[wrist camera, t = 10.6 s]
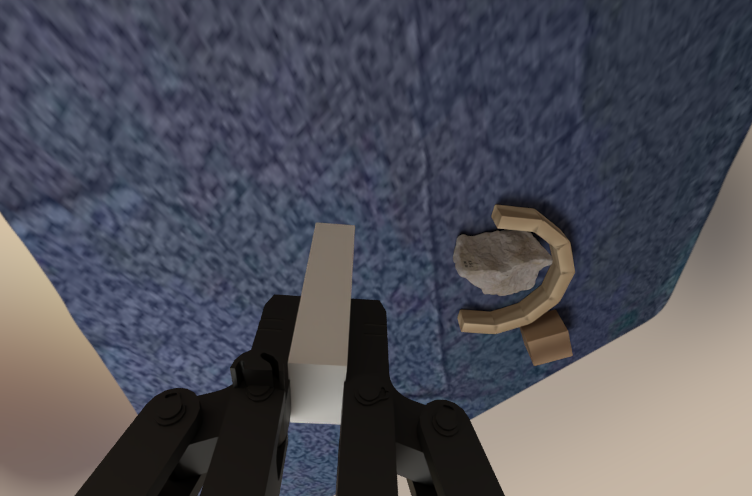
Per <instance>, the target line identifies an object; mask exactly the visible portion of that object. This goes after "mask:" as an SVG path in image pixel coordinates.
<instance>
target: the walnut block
mask: <svg viewBox="0 0 752 496" xmlns="http://www.w3.org/2000/svg"><path fill="white" fill-rule="evenodd" d="M520 330H521V333H522V337H523V340H524V344H525V346H526V348H527V351H528V353H529V355H530V358H531V360H532V362H533V364H534V366H537V365H540V364H544V363H548V362H551V361H555V360H559V359H562V358H566V357H570V356H573V355H572V349H571V344H570V339H569V334H568V330H567V328H566V327H565V325H564V323H563V321H562V320H561V318H560V316H559V315H558V313H557V311H556V309H555V310H551V311H548V312H545V313H544V314H543V315H541V316H540V317H539V318H537V319H536V320H535V321H533V322H532V323H530V324H528V325H524V326H521V327H520Z"/></svg>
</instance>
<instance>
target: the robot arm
mask: <svg viewBox="0 0 752 496" xmlns="http://www.w3.org/2000/svg"><path fill="white" fill-rule="evenodd" d="M354 232H355V226H353V225H340V224H327V223H316V225H315V230H314V235H313V240H312V245H311V250H310V255H309V260H308V265H307V270H306V275H305V280H304V285H303V289H302V294H301V296H290V295H275V294H274V295H273V297H272V298H271V299H270V300H269V301H268V302H267V303H266V304H265V306H264V309H263V312H262V316H261V320H260V322H259V326H258V330H257V332H256V336H255V339H254V342H253V346H252V349H251V350H250V351H247V352H245V353H243V354H241V355H240V356H239V357H238V358H237V359H235V360H234V362H233V364H232V366H231V367H230V371H231V377H232V382H233V384H232V385H230V386H229V387H227V388H225V389H222V390H219V391H216V392H212V393H208V394H203V395H199V396H196V394H195V393H194V392H192V391H190V390H188V389H184V388H174V389H170V390H166V391H164V392H162V393H160V394H158V395H156V396H155V397H154V398H153V399H152V400H150V401H149V402H148V403H147V404H146V405H145V407H144V408H143V409H142V411H141V412H140V413H139V414H138V416H137V417H136V418H135V420H134V421H133V422H132V423H131V425H130V426H129V427H128V428H127V430H126V431H125V432H124V434H123V435H122V436H121V437H120V439H119V440H118V441H117V442H116V444H115V445H114V446H113V448H112V449H111V450H110V451H109V453H108V454H107V455H106V456H105V458H104V459H103V460H102V462H101V463H100V464H99V465H98V467H97V468H96V469H95V471H94V472H93V473H92V474H91V476H90V477H89V478H88V480H87V481H86V482H85V483H84V484H83V486H82V487H81V488H80V490H79V491H78V492H77V493H76V495H75V496H197V495H198V493H199V492H200V490H201V488H202V486H203V488H202V491H201V494H200V496H279V493H280V487H281V481H282V475H283V469H284V463H285V457H286V451H287V445H288V433H287V432H288V426H289V421H290V422H297V423H320V424H341V425H340V439H339V450H338V467H337V482H336V496H398V486H397V474H398V475H400V476H403V477H405V478H407V482H408V485H409V489H410V492H411V495H412V496H505V495H504V493H503V491H502V489H501V486H500V484H499V482H498V480H497V478H496V476H495V473H494V471H493V470H492V467H491V465H490V463H489V461H488V458H487V456H486V454H485V452H484V450H483V447H482V445H481V443H480V441H479V439H478V437H477V434H476V432H475V430H474V428H473V426H472V424H471V421H470V419H469V417H468V416H467V415H466V413H465V412H464V410H463V409H462V408H460V407H459V406H458V405H457V404H455V403H453V402H450V401H447V400H434V401H432V402H429V403H428V404H427V405H424V404H421V403H418V402H416V401H413V400H410V399H408V398H406V397H404V396H403V395H401V394H400V393H399V392H398V391H397V390H396V389H395V388H394V386H393V385H392V383H391V380H390V376H389V361H388V339H387V318H386V311H385V309H384V307H383V305H382V304H381V302H380V300H366V299H351V286H352V268H353V250H354Z"/></svg>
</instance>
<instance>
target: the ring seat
mask: <svg viewBox="0 0 752 496" xmlns="http://www.w3.org/2000/svg"><path fill="white" fill-rule="evenodd" d="M491 217H492V219H493V221H494V223H495V225H496V226H497V228H499V229H509V230H520V231H530V232H535V233H536V234H538V235H539V236H540V237H542V238H543V239H544V240H545V241H547V242H548V243H549V245H550V250H551V255H552V259H553V261H552V264H551V266H550V268H549V270H548V272H547V274H546V276H545V278H544V281H543V283H542V285H541V286H539V287H538V288H537V289H536V290H534V291H533V292H532V293H531V294H529V295H528V296H527V297H526V298H524V299H523V300H522V301H521V302H519V303H517V304H514V305H511V306H507V307H504V308H501V309H498V310H494V311H491V312H487V311H474V310H461V309H460V312H459V315H458V322H459V325H460V329H461V332H473V333H487V334H495V333H496V334H497V333H501V332H504V331H507V330H511V329H514V328H517V327H521V326H524V325H528V324H530V323H532V322H533V321H535V320H536V319H537V318H539V317H540V316H541V315H543V314H544V313H545V312H547V311H548V310H549V309H551V308H552V307H553V306H555V305H556V304H557V303H559V301H560V300H561V298H562V296H563V294H564V292H565V291H566V289H567V287H568V285H569V283H570V281H571V279H572V277H573V275H574V273H575V269H574V263H573V257H572V251H571V245H570V242H569V240H568V239H567V237H566V236H565V235H564V234H563V232H562V231H561V230H560V229H559V228H558V227H557V226H555V225H554V224H553V223H552V222H550V221H549V220H548V219H547V218H545V217H544V216H543V215H542V214H540V213H539V212H538V211H537V210H536V209H533V208H523V207H514V206H504V205H495V207H494V210H493V213H492V216H491Z"/></svg>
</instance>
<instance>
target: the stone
mask: <svg viewBox="0 0 752 496" xmlns="http://www.w3.org/2000/svg"><path fill="white" fill-rule="evenodd" d="M456 242H457V243H456V247H455V250H454V255H453V260H454V263H456V264H455V268H456V269H457V272H458V274H459V275H460V276H461V277H465V278H467V279H468V280H469V281H470V282H471V283H472V284H473V285H475V286H477V287H478V288H481V289H482V291H483V293H484V294H492V295H494V294H498V295H499V296H505V295H507V294H508V295H510V294H513V293H517V292H519V291H521V290H529V289H531V288H532V287H533V286H534V285H535V279H536V278H537V275H538V272H539V270H541V269H542V268H543V267H545V266H548V265H551V264H552V261H553V259H552V257H551V255H550V254H549V253H548V252H547V251H546V250H545V248H543V247H542V246H541V245H540V243H539V242H538V241H537V240H536V238H534V237H533V235H532V233H531V232H528V231H520V230H512V231H504V230H503V231H498V230H497V231H495V232H491V233H488V232H485V233H482V234H479V235H477V236H467V235H464V234H462V235H460V236H458V238H457V241H456Z"/></svg>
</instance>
